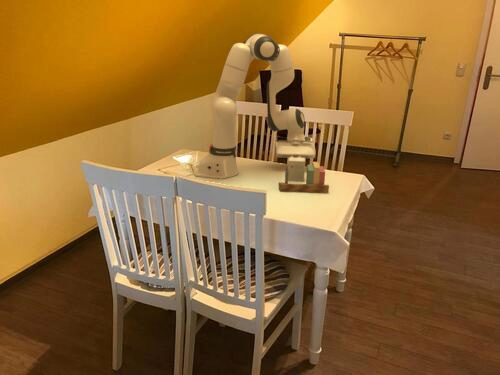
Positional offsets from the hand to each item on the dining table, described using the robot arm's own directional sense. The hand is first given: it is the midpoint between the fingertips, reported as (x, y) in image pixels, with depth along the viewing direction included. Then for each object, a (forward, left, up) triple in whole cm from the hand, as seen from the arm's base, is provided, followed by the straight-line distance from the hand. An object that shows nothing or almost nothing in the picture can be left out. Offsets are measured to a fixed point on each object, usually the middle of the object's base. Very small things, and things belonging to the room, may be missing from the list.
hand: (295, 164), depth 214 cm
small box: (0, -8, -5) cm, 10 cm away
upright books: (+8, -20, -5) cm, 22 cm away
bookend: (-6, -20, -5) cm, 21 cm away
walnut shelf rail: (+3, -25, -5) cm, 25 cm away
